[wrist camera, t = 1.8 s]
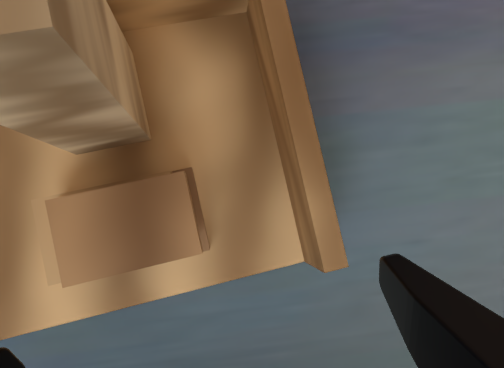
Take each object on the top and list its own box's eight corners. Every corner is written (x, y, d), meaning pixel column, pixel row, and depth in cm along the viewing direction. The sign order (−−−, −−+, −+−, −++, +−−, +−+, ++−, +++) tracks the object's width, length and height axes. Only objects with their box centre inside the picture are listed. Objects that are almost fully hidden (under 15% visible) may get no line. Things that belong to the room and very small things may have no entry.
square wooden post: (76, 154, 18) (-166, 59, 7) (57, 65, 19) (-211, -184, 7) (151, 139, 19) (52, 26, 7) (132, 52, 19) (5, -199, 7)
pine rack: (-38, 344, 18) (-123, 391, 14) (-94, 55, 19) (-193, 5, 14) (318, 253, 21) (348, 266, 16) (258, 1, 22) (272, -55, 17)
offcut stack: (70, 281, 18) (36, 299, 14) (53, 199, 18) (15, 196, 15) (210, 247, 19) (209, 256, 15) (192, 169, 19) (188, 160, 16)
